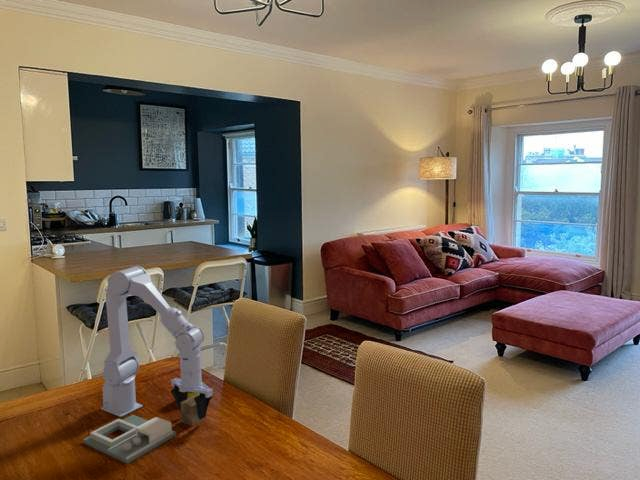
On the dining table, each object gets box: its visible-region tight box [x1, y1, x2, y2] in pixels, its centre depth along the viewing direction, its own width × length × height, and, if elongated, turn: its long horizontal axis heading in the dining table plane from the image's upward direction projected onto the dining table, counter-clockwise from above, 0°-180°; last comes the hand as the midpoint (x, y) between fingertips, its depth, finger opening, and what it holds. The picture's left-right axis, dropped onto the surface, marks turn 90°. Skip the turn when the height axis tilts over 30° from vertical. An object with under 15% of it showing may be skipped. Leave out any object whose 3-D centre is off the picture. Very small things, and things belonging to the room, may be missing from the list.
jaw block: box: [180, 397, 205, 427], centre depth 146 cm, size 4×4×6 cm
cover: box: [135, 416, 173, 443], centre depth 136 cm, size 6×7×3 cm
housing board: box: [82, 414, 177, 465], centre depth 136 cm, size 18×16×2 cm
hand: (192, 414), depth 146 cm, fingers open, 7 cm apart
